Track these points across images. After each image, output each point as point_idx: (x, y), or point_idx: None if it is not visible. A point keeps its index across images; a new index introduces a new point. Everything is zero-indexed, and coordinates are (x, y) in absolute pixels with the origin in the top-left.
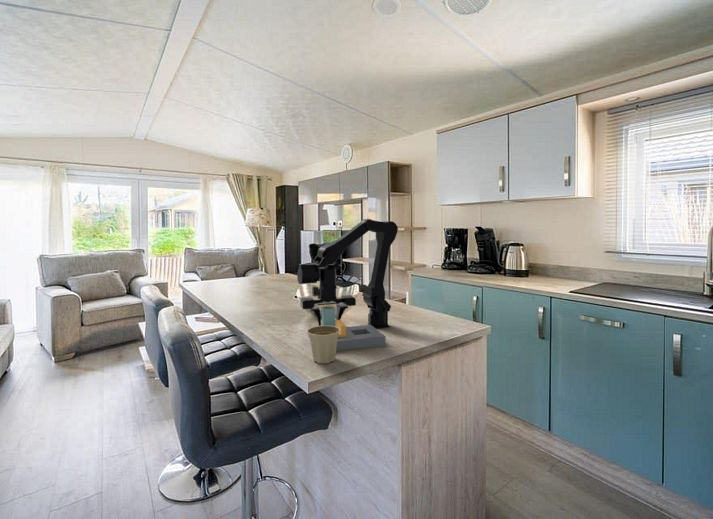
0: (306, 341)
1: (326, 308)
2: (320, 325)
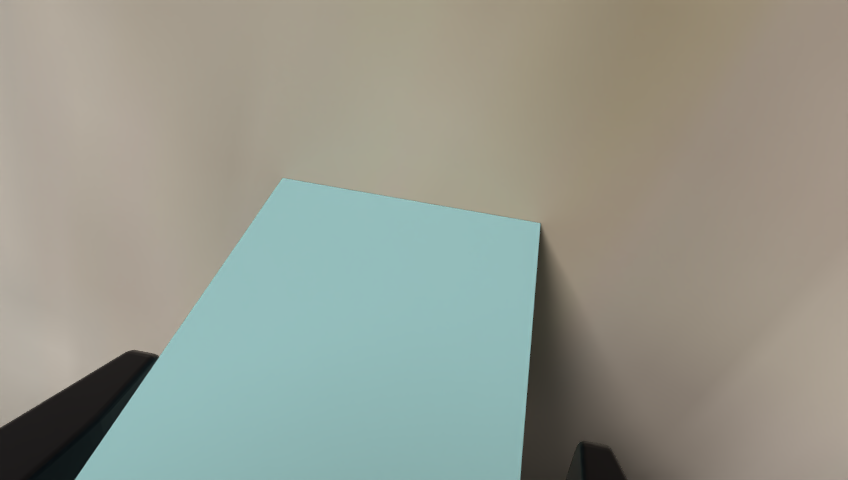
0: None
1: None
2: None
